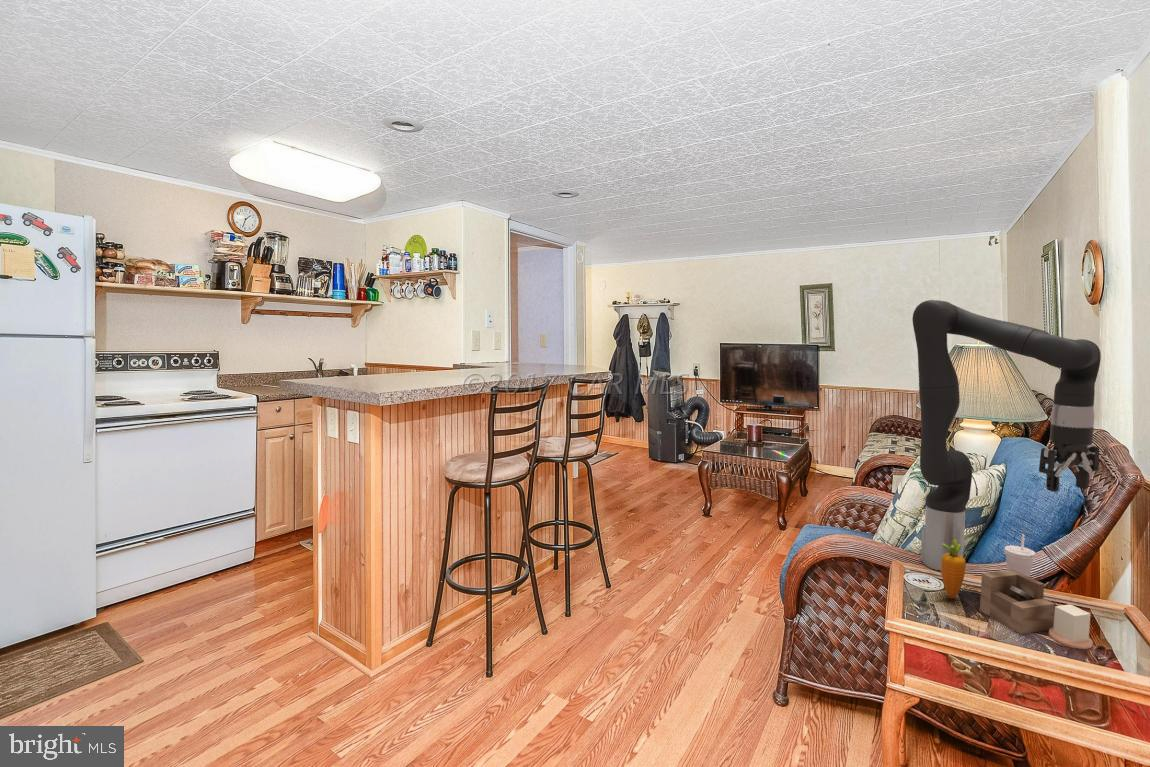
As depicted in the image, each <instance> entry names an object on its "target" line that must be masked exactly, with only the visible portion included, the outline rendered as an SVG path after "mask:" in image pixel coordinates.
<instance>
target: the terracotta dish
mask: <svg viewBox="0 0 1150 767" xmlns="http://www.w3.org/2000/svg"><path fill="white" fill-rule="evenodd" d="M1053 629H1054V626H1053V628H1050V629H1049V630H1048V636H1049V638H1050V639H1052V640H1053V641H1055V642H1056V643H1058V644H1061V645H1063V646H1065V645H1066V646H1065V647H1069V648H1072V649H1076V648H1077V649H1076V650H1089V649H1088V648H1090V647H1092V646H1093V645H1094V642H1093V640H1092V639H1091V638H1090V637H1089V640H1088V641H1081V642H1074V643H1072V642H1071V641H1069V640H1067V639H1065V638H1063V637H1061V636H1059V635H1057V634H1056V633H1054V632H1053ZM1092 648H1093V647H1092Z"/></svg>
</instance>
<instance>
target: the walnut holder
mask: <svg viewBox="0 0 1150 767" xmlns="http://www.w3.org/2000/svg"><path fill="white" fill-rule="evenodd" d="M980 585H981V586H980V598H979V599H980V604H979V611H980V610H981V611H982V612H981V611H980V612H981V613H983V614H985V615H987V616H988V617H990V618H992V619H993V620H996V621H997V622H999V623H1001V624H1003V625H1004V626H1006V627H1008V628H1009V629H1011V630H1012V631H1015V633H1016V632H1017V633H1019V634H1020V635H1023V634H1030V633H1037V632H1043V631H1049V629H1050V628H1053V627H1054V606H1055V604H1056V603H1054V602H1052V601H1050V600H1048V599H1046V600H1045V598H1044V592H1045V583H1043V582H1041V581H1039V580H1037V579H1034V578H1032V577H1031V576H1030V577H1028V576H1026V575H1024V574H1021V573H1019V572H1017V571H1015V570H1013V569H1010V570H1007V569H1005V570H1004V569H1003V570H996V571H995V570H994V571H987V572H981V582H980ZM1011 585H1012V586H1014V587H1016V588H1018V589H1020V590H1022V591H1024V592H1025V593H1027V594H1028V595H1030V596H1032V597H1033V600H1028V601H1026V599H1024V598H1023V597H1021V596H1020V595H1018V594H1017V593H1015V592H1013V591H1012V590H1010V587H1011ZM1043 598H1044V599H1043ZM1047 600H1048V601H1047Z"/></svg>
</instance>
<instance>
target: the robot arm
mask: <svg viewBox="0 0 1150 767" xmlns="http://www.w3.org/2000/svg"><path fill="white" fill-rule="evenodd" d="M912 327H913V332H914V339H915V343H916V349H917V367H918V370H917V371H918V392H919V394H918V395H919V404H920V405H919V406H920V423H921V424H920V428H921V429H920V433H921V434H920V435H921V436H920V453H919V468H920V473H921V476H922V478H923V479H924V480H925V482H926V483H928V484H930V485H932V486H937V487H936V488H935V489H933V490H932V491H931V492H929V493H928V494H927V495H925V512H924V514H925V515H924V528H921V538H920V539H921V540H920V541H921V542H920V561H922V562H923V564H924V565H925V566H926V567H927V568H930V569H932V570H934V569H935V571H937V570H940V571H939V572H942V569H941V560H942V556H943V555H944V554H946V553H949V551H948V550H947V549H946V548H945V547H944V546H942V544H946V545H947V546H948V547H949V548H950V547H951V546H952V545H953V540H954V539H955V540H957V543H958V544H960V545H961V548H960V550H959V551H958V553H957V555H960V556H961V557H963V558H964V549H965V546H964V545H965V525H966V524H965V523H966V507H967V506H966V505H967V504H968V502H969V500H970V497H971V490H972V480H973V466H972V463H971V461H970V459H969V457H968V456H967V454H966V453H964V452H963V451H960V450H954V449H953V450H951V449H950V450H947V437H948V432H949V430H950V427H951V424H952V422H954V419H955V416H956V415H957V412H958V410H959V408H960V403H961V402H960V400H961V398H960V384H959V383H960V382H959V379H958V378H959V377H958V375H957V371H956V369H955V367H954V364H953V361H952V360H951V357H950V353H949V349H948V334H949V335H956V336H963V337H967V338H970V339H974V340H977V341H980V342H983V343H985V344H987V345H990V346H993V347H995V348H998V349H1001V350H1004V351H1007V352H1010V353H1013V354H1016V355H1021V356H1024V357H1028V358H1033V359H1035V360H1037V361H1040V362H1042V363H1045V364H1048V365H1050V366H1052V367H1053V366H1054V367H1057V368H1060V373H1059V374H1060V376H1059V379H1058V381H1057V382H1056V384H1055V386H1054V391H1053V392H1054V394H1053V404H1052V410H1051V416H1050V433H1049V441H1051V443H1053V447H1052V448H1046V447H1043V448H1041V450H1040V457H1039V464H1038V465H1039V466H1038V472H1039V473H1043V474H1045V475H1046V481H1045V482H1046V483H1045V485H1046V489H1047V491H1050V492H1054V493H1055V492H1059V489H1060V478H1061V477H1060V475H1061V473H1062V472H1063V471H1065V470H1067V468H1068V467H1071V466H1074V467H1075V469H1076V470H1077V471H1076V479H1075V486H1076V488H1079V489H1083V490H1087V489H1088V488H1089V484H1090V475H1091V474H1092V473H1093V472H1094V471H1095V472H1097V471H1098V470H1099V468H1100V466H1099V465H1100V447H1099V446H1097V445H1093V442H1094V440H1093V438H1094V427H1095V426H1094V425H1095V407H1094V406H1095V394H1096V393H1095V385H1096V383H1097V382H1096V381H1097V378H1098V374H1099V371H1100V370H1099V369H1100V365H1101V359H1102V358H1101V356H1102V355H1101V350H1100V348H1099V346H1098V344H1096V343H1095V342H1093V341H1091V340H1089V339H1078V338H1077V339H1071V338H1067V337H1062V336H1060V335H1059V336H1058V335H1055V334H1050V333H1049V332H1047V331H1046V330H1043V329H1038V328H1034V327H1031V326H1027V325H1024V324H1020V323H1019V324H1018V323H1014V322H1009V321H1006V320H1005V321H1004V320H999V319H994V318H990V317H987V316H984V315H980V314H977V313H974V312H971V311H968V310H967V309H965V308H962V307H959V306H957V305H955V304H952V303H951V302H949V301H945V300H935V299H929V300H924V301H922V302H920V303H919V304H918V305H917V306H916V307H915V309H914V311H913V313H912ZM1091 461H1092V464H1091ZM1046 465H1047V468H1046Z"/></svg>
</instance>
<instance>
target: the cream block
mask: <svg viewBox="0 0 1150 767" xmlns="http://www.w3.org/2000/svg"><path fill="white" fill-rule="evenodd" d="M1090 622H1091V613H1090V612H1087V611H1085V610H1084V609H1081V608H1079V607H1077V606H1075V605H1073V604H1065V605H1063V604H1062V605H1058V606H1055V614H1054V621H1053V627H1054V629H1053V632H1054V633H1056V634H1057V635H1059V636H1061V637H1063V638H1065V639H1067V640H1069V641H1071V642H1072V643H1074V642H1081V641H1088V640H1089V638H1090V626H1091V623H1090Z"/></svg>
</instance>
